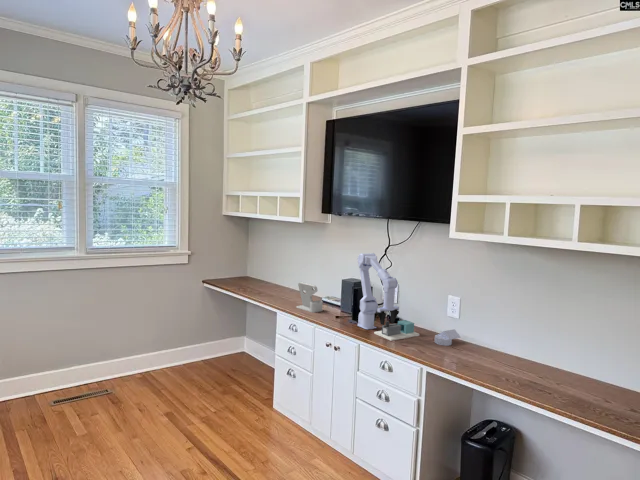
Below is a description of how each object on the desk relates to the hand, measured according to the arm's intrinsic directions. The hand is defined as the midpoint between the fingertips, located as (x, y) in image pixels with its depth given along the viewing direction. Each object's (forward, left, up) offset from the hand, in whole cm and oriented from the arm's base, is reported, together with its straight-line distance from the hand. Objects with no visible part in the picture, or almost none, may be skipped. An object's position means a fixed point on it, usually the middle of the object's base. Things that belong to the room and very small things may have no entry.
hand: (387, 323), depth 248 cm
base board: (0, +8, -7) cm, 11 cm away
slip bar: (0, +4, -5) cm, 6 cm away
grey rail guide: (0, +3, -6) cm, 7 cm away
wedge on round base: (+22, +24, -8) cm, 33 cm away
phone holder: (-68, -7, -8) cm, 68 cm away
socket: (0, +15, -6) cm, 16 cm away
